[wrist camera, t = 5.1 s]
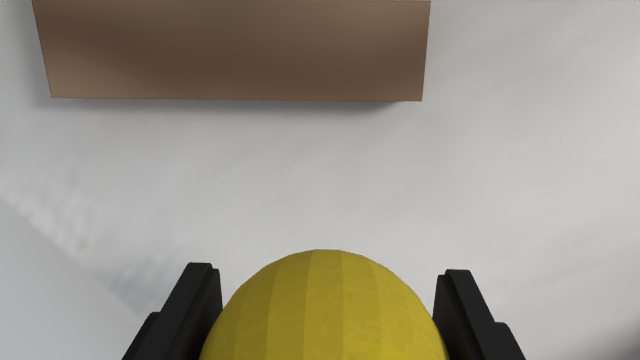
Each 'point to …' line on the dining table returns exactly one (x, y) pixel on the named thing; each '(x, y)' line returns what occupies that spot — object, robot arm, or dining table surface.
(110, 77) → the notched board
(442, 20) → the dining table surface
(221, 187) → the dining table surface
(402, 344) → the lemon
